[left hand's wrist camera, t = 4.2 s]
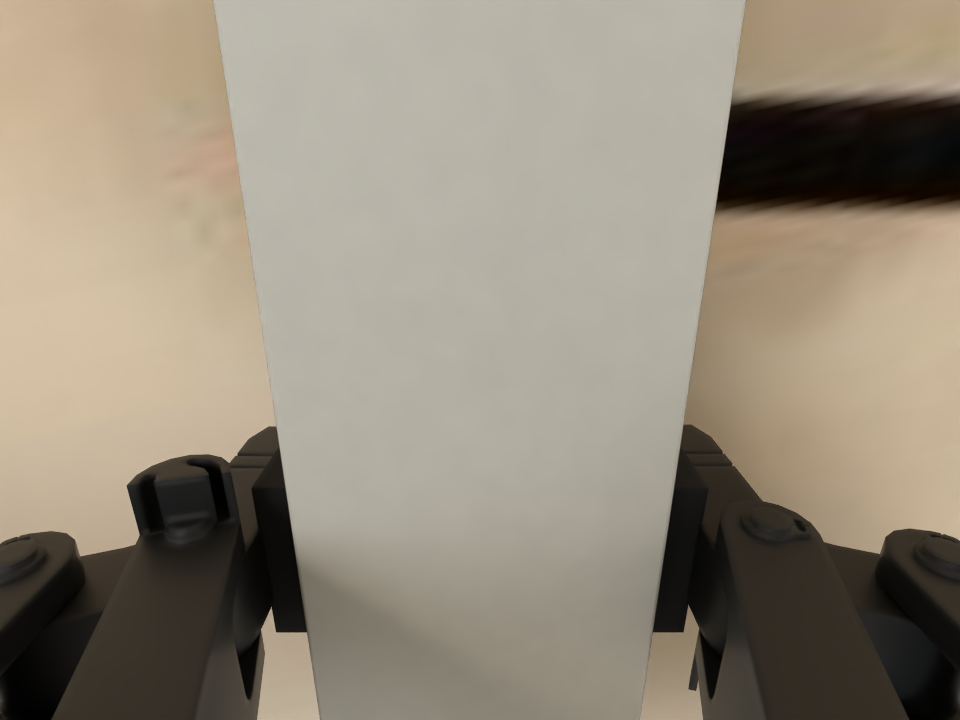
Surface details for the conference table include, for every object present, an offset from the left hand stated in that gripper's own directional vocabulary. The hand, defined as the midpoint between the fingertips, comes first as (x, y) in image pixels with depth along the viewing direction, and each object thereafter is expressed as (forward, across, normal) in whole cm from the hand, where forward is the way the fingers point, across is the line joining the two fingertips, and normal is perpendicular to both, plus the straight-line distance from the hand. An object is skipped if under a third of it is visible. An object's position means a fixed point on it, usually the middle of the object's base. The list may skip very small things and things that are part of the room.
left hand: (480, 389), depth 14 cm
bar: (+1, 0, -25) cm, 25 cm away
